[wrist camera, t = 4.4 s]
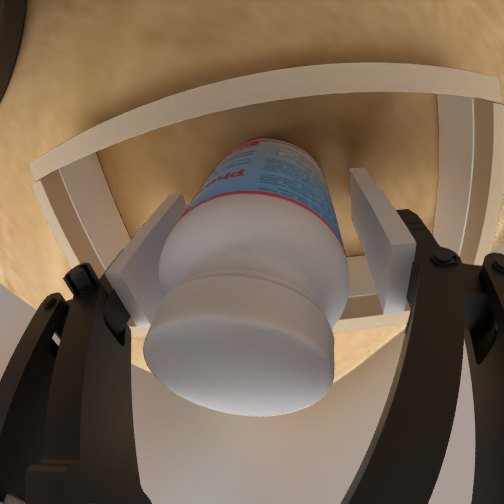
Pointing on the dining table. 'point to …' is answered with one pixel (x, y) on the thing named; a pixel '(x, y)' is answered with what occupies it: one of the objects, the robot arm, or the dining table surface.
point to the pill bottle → (252, 286)
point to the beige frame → (284, 87)
